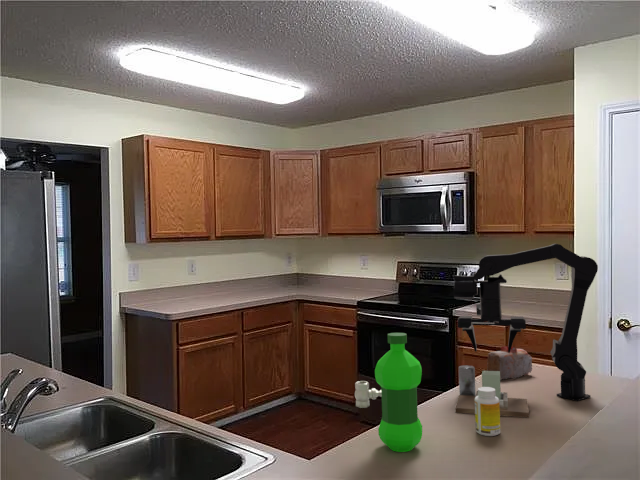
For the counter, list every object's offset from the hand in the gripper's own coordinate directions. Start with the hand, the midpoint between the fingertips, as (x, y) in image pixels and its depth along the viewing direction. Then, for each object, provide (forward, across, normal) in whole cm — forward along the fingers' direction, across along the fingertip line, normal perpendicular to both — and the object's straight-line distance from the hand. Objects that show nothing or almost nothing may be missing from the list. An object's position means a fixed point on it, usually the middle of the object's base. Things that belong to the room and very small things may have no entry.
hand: (492, 351), depth 159 cm
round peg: (+12, +7, +3) cm, 14 cm away
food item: (+12, -5, -21) cm, 25 cm away
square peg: (+11, 0, +14) cm, 18 cm away
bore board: (+12, 0, +14) cm, 19 cm away
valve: (+12, +31, +18) cm, 38 cm away
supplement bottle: (+12, +1, +33) cm, 36 cm away
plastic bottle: (+12, +19, +47) cm, 52 cm away
